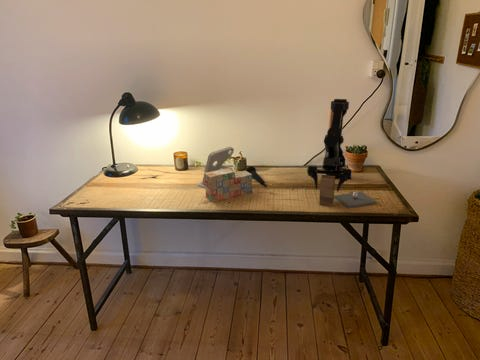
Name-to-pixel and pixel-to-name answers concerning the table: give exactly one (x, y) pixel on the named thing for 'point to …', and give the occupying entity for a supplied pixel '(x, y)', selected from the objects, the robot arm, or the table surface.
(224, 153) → the phone holder
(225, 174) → the stack of blocks
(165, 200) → the table surface
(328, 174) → the robot arm
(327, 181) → the walnut block
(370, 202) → the charcoal base plate
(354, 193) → the steel pin
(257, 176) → the microphone
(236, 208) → the table surface
